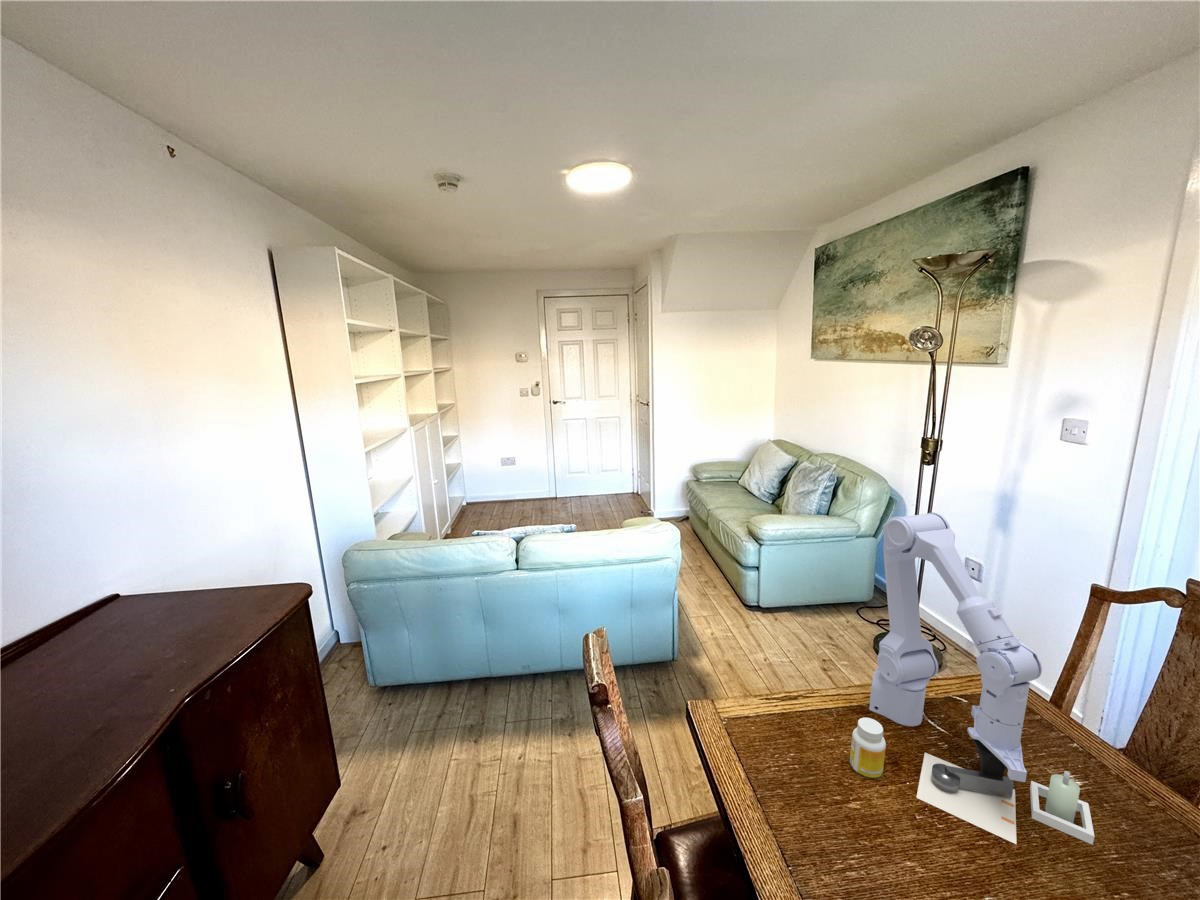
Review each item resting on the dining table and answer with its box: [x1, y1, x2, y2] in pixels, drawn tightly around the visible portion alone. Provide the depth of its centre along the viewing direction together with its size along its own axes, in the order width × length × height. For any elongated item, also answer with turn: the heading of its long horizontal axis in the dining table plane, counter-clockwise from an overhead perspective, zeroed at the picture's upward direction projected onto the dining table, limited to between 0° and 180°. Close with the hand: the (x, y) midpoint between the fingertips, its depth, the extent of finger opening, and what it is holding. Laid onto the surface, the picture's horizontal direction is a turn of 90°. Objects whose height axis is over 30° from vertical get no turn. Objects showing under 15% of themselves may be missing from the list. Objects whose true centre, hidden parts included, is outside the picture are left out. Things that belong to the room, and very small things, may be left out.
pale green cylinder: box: [1044, 770, 1081, 824], centre depth 78 cm, size 3×3×9 cm
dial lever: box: [931, 764, 1015, 799], centre depth 83 cm, size 12×4×3 cm, turn 74°
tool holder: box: [1029, 780, 1096, 846], centre depth 79 cm, size 7×7×2 cm
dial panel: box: [915, 752, 1017, 845], centre depth 83 cm, size 13×12×1 cm
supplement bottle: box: [849, 717, 887, 779], centre depth 88 cm, size 5×5×10 cm
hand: (990, 781), depth 83 cm, fingers closed, pressing on dial lever
